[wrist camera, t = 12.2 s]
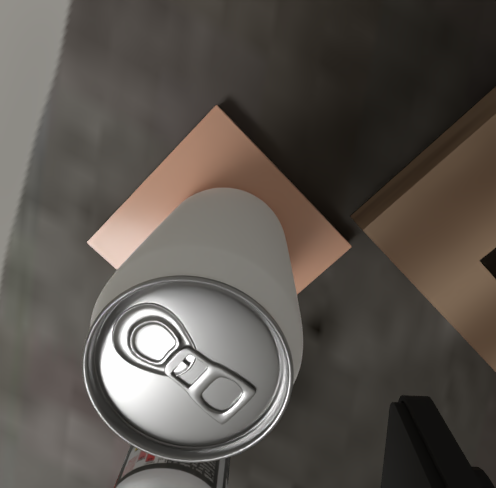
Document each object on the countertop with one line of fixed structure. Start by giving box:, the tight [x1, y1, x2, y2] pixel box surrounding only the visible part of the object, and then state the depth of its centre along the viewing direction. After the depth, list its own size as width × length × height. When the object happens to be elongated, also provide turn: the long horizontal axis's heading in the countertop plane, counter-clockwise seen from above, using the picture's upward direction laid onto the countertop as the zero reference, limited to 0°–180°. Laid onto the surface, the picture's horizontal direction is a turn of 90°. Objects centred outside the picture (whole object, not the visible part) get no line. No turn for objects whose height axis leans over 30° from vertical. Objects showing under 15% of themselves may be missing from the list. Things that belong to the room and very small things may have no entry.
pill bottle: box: [114, 445, 230, 488], centre depth 22 cm, size 6×6×10 cm
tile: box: [87, 105, 352, 294], centre depth 23 cm, size 10×10×1 cm
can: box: [82, 188, 303, 463], centre depth 17 cm, size 6×6×12 cm
